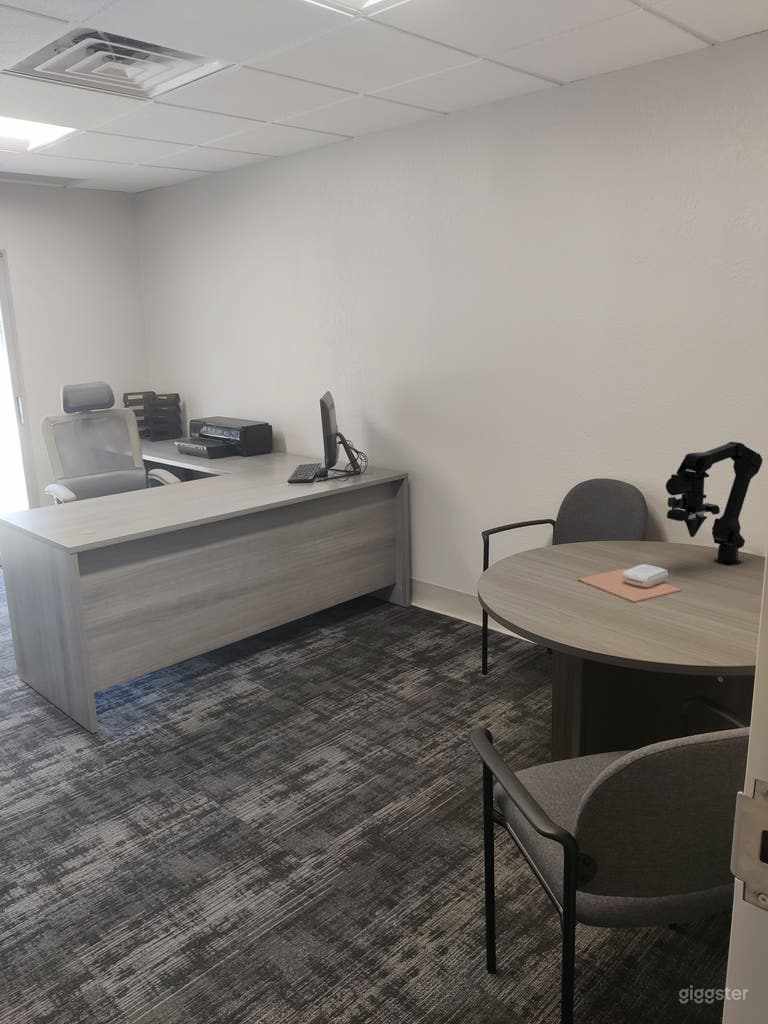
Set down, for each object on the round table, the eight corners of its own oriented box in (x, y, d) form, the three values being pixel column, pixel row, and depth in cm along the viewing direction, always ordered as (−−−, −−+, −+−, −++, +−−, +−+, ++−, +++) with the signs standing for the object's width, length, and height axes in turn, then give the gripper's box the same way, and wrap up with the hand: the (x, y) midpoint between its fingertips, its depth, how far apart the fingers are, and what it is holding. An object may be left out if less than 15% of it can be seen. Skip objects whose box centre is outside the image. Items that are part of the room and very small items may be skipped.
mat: (623, 570, 266) (623, 568, 266) (681, 590, 244) (681, 589, 243) (577, 580, 258) (577, 578, 258) (634, 602, 235) (634, 601, 235)
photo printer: (641, 574, 259) (618, 583, 252) (641, 562, 258) (619, 570, 251) (668, 581, 251) (646, 590, 244) (669, 569, 250) (647, 577, 243)
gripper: (695, 484, 267) (693, 527, 271) (655, 491, 259) (653, 535, 263) (722, 489, 257) (719, 534, 261) (681, 496, 250) (679, 543, 253)
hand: (692, 536), depth 260 cm, fingers closed
